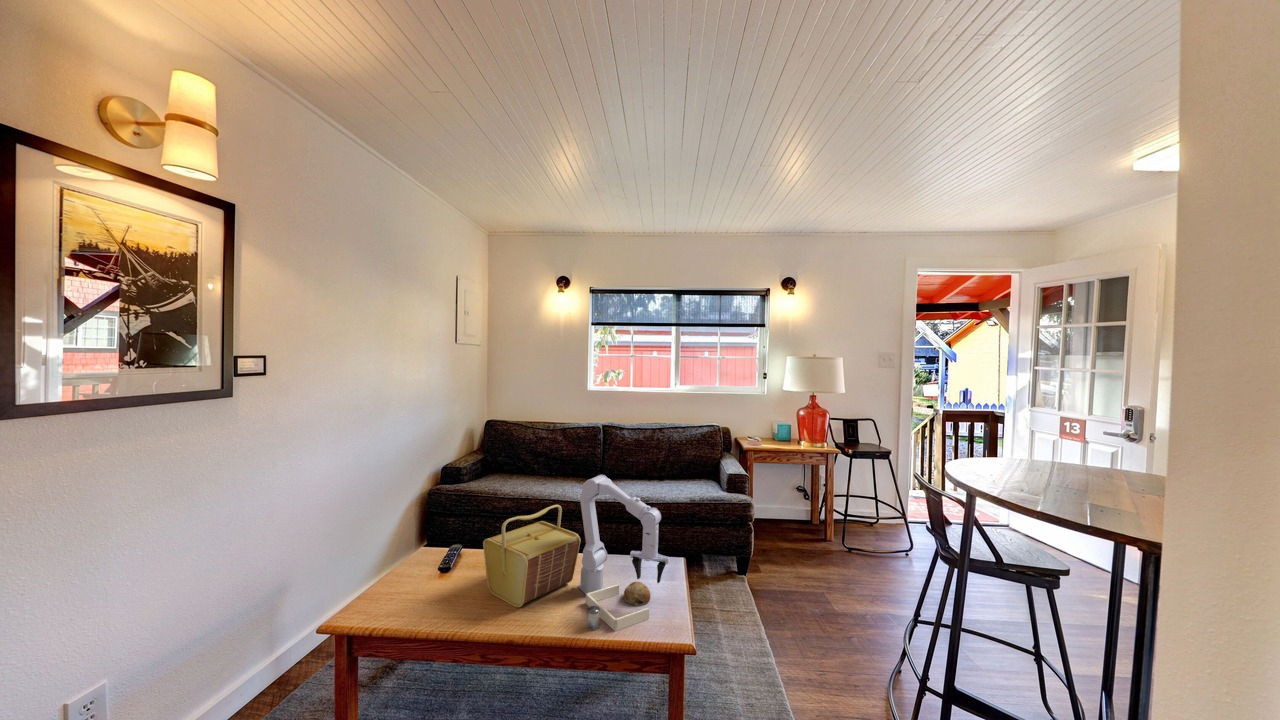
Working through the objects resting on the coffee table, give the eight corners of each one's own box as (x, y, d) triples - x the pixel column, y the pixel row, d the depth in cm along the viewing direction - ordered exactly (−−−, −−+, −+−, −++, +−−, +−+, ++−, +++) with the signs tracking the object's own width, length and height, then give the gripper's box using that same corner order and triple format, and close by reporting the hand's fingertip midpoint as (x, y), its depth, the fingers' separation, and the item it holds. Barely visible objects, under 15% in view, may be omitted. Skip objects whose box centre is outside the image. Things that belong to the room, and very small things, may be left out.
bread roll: (625, 614, 167) (628, 599, 164) (620, 590, 176) (622, 575, 173) (651, 611, 170) (654, 596, 167) (644, 587, 179) (647, 573, 176)
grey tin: (584, 625, 153) (585, 608, 153) (595, 622, 155) (596, 604, 155) (590, 632, 149) (591, 614, 149) (601, 628, 152) (602, 610, 152)
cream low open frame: (585, 603, 167) (585, 593, 167) (617, 593, 175) (618, 584, 175) (614, 631, 150) (615, 620, 150) (648, 618, 159) (649, 608, 159)
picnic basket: (521, 616, 157) (524, 530, 157) (478, 591, 172) (481, 512, 173) (581, 585, 180) (584, 510, 180) (538, 565, 196) (541, 496, 196)
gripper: (628, 543, 165) (626, 581, 165) (666, 550, 161) (665, 588, 161) (634, 536, 172) (632, 572, 172) (671, 542, 167) (669, 579, 167)
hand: (648, 579), depth 167 cm, fingers open, 7 cm apart
